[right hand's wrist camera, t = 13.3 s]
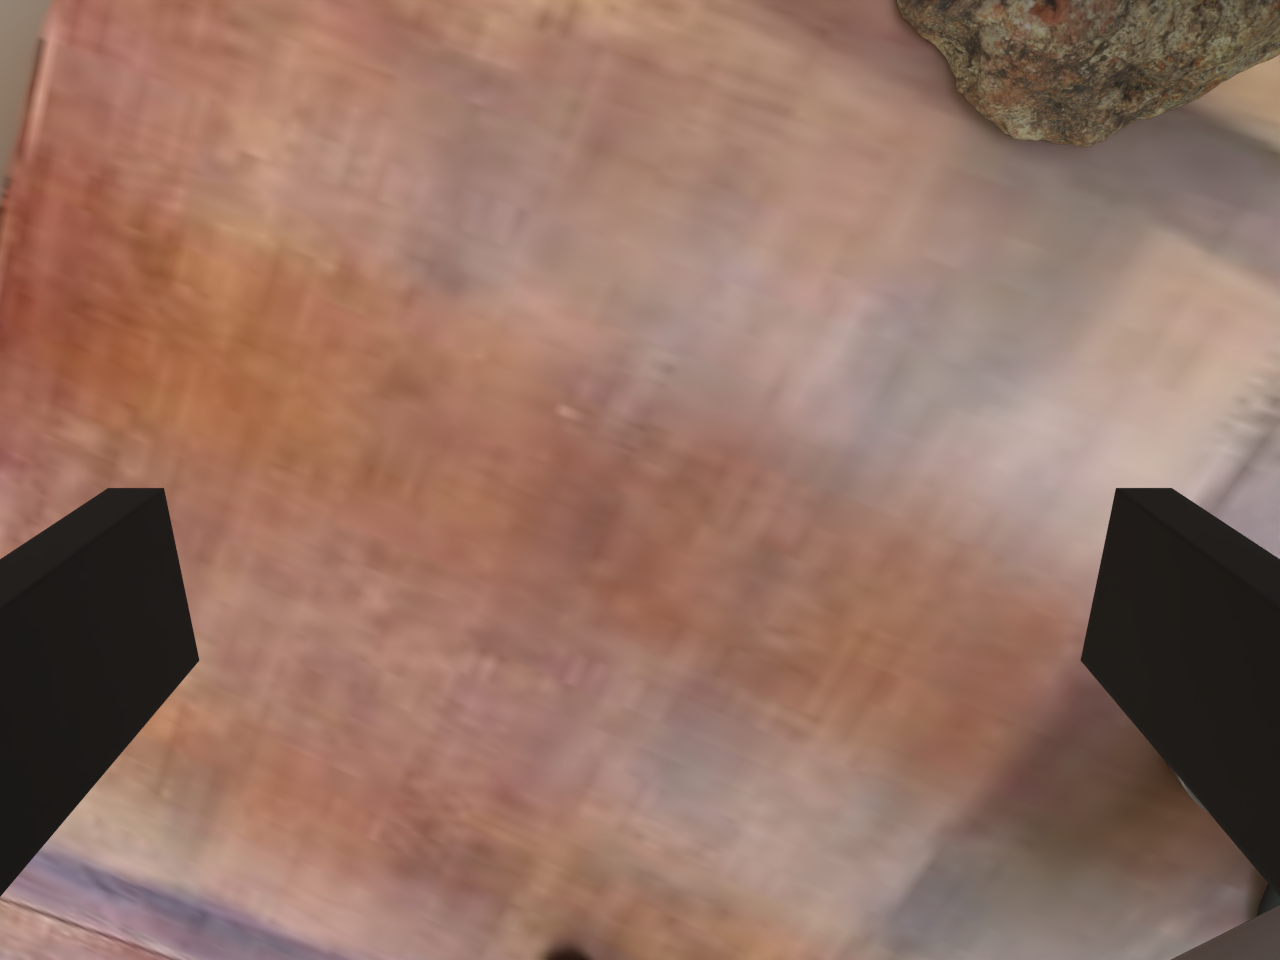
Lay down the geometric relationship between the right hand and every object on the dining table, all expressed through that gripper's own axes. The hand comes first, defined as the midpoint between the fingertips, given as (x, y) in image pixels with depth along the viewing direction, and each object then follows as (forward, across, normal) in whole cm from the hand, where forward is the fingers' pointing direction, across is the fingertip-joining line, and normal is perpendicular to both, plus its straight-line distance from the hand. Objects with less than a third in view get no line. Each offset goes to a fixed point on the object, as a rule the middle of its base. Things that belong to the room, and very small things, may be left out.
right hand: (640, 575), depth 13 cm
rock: (+30, -18, -10) cm, 37 cm away
